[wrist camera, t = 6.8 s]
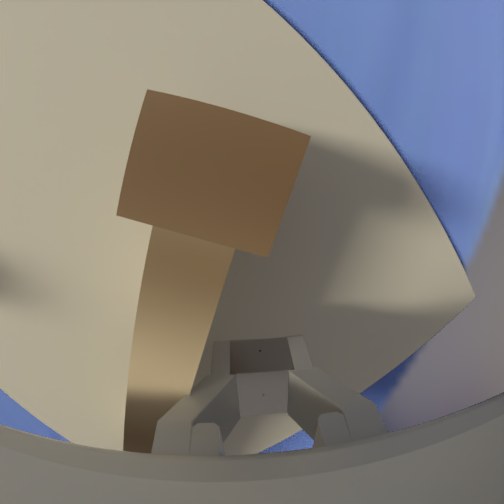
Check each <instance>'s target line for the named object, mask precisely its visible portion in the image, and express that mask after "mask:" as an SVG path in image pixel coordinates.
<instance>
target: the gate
mask: <svg viewBox="0 0 504 504" xmlns="http://www.w3.org/2000/svg"><path fill="white" fill-rule="evenodd" d="M310 138H311V136H309V135H307V134H304V133H301V132H298V131H295V130H293V129H290V128H287V127H284V126H281V125H278V124H275V123H272V122H269V121H266V120H263V119H260V118H257V117H253V116H250V115H247V114H244V113H240V112H237V111H234V110H230V109H227V108H223V107H219V106H216V105H212V104H208V103H205V102H201V101H197V100H193V99H189V98H185V97H180V96H176V95H172V94H167V93H163V92H158V91H153V90H149V89H147V91H146V94H145V98H144V101H143V104H142V108H141V111H140V115H139V118H138V122H137V125H136V129H135V133H134V136H133V140H132V144H131V148H130V152H129V156H128V161H127V165H126V169H125V174H124V178H123V183H122V188H121V193H120V198H119V203H118V208H117V213H116V216H120V217H124V218H127V219H131V220H134V221H138V222H141V223H145V224H149V225H152V226H153V227H152V231H151V236H150V241H149V245H148V250H147V255H146V261H145V266H144V271H143V277H142V282H141V288H140V294H139V300H138V306H137V312H136V319H135V326H134V333H133V341H132V348H131V356H130V365H129V374H128V384H127V395H126V407H125V421H124V439H123V451H129V452H139V453H151V451H152V446H153V441H154V436H155V431H156V426H157V421H158V420H159V419H160V418H161V417H162V416H164V415H165V414H166V413H167V412H168V411H169V410H170V409H171V408H172V407H173V406H174V405H175V404H177V403H178V402H179V401H180V400H181V399H182V398H183V397H184V396H190V392H191V389H192V386H193V383H194V379H195V376H196V373H197V369H198V366H199V363H200V360H201V356H202V353H203V350H204V347H205V343H206V340H207V337H208V334H209V331H210V327H211V324H212V321H213V318H214V315H215V311H216V308H217V305H218V302H219V299H220V295H221V292H222V289H223V286H224V283H225V280H226V277H227V273H228V270H229V267H230V264H231V261H232V258H233V255H234V252H235V249H238V250H242V251H245V252H249V253H253V254H256V255H260V256H263V257H267V258H268V256H269V253H270V250H271V248H272V245H273V242H274V239H275V236H276V234H277V231H278V228H279V225H280V223H281V220H282V217H283V214H284V211H285V209H286V206H287V203H288V200H289V197H290V195H291V192H292V189H293V186H294V183H295V181H296V178H297V175H298V172H299V169H300V166H301V163H302V161H303V158H304V155H305V152H306V149H307V146H308V143H309V141H310Z"/></svg>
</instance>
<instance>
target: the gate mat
mask: <svg viewBox="0 0 504 504" xmlns="http://www.w3.org/2000/svg"><path fill="white" fill-rule="evenodd" d="M147 89H149V90H153V91H158V92H163V93H167V94H172V95H176V96H180V97H185V98H189V99H193V100H197V101H201V102H205V103H208V104H212V105H216V106H219V107H223V108H227V109H230V110H234V111H237V112H240V113H244V114H247V115H250V116H253V117H257V118H260V119H263V120H266V121H269V122H272V123H275V124H278V125H281V126H284V127H287V128H290V129H293V130H295V131H298V132H301V133H304V134H307V135H309V136H311V138H310V141H309V143H308V146H307V149H306V152H305V155H304V158H303V161H302V163H301V166H300V169H299V172H298V175H297V178H296V181H295V183H294V186H293V189H292V192H291V195H290V197H289V200H288V203H287V206H286V209H285V211H284V214H283V217H282V220H281V223H280V225H279V228H278V231H277V234H276V236H275V239H274V242H273V245H272V248H271V250H270V253H269V256H268V258H267V257H263V256H260V255H256V254H253V253H249V252H245V251H242V250H238V249H235V252H234V255H233V258H232V261H231V264H230V267H229V270H228V273H227V277H226V280H225V283H224V286H223V289H222V292H221V295H220V299H219V302H218V305H217V308H216V311H215V315H214V318H213V321H212V324H211V327H210V331H209V334H208V337H207V340H206V343H205V347H204V350H203V353H202V356H201V360H200V363H199V366H198V369H197V373H196V376H195V379H194V383H193V386H192V388H194V387H195V386H196V385H197V384H198V383H199V382H200V381H201V380H202V379H203V378H204V377H205V376H210V375H211V364H212V351H213V343H214V341H221V340H230V341H231V340H244V339H267V338H279V337H286V336H293V335H301V334H302V335H303V336H304V339H305V342H306V345H307V349H308V352H309V355H310V358H311V361H312V364H313V368H316V367H319V368H320V369H322V370H323V371H325V372H326V373H328V374H329V375H331V376H332V377H334V378H335V379H337V380H339V381H340V382H342V383H343V384H345V385H346V386H348V387H349V388H351V389H353V390H354V391H356V392H357V393H359V394H360V393H361V392H363V391H364V390H365V389H367V388H368V387H370V386H371V385H373V384H374V383H375V382H377V381H378V380H379V379H381V378H382V377H384V376H385V375H386V374H388V373H389V372H390V371H392V370H393V369H394V368H395V367H397V366H398V365H399V364H401V363H402V362H403V361H404V360H406V359H407V358H408V357H410V356H411V355H412V354H413V353H414V352H416V351H417V350H418V349H419V348H421V347H422V346H423V345H424V344H425V343H426V342H428V341H429V340H430V339H431V338H432V337H433V336H435V335H436V334H437V333H438V332H439V331H440V330H441V329H443V328H444V327H445V326H446V325H447V324H448V323H449V322H450V321H451V320H452V319H454V318H455V316H457V315H458V314H459V313H460V312H461V311H462V310H463V309H464V308H465V307H466V306H467V305H468V304H469V303H470V302H471V301H472V300H473V299H474V298H475V297H476V295H475V293H474V291H473V288H472V286H471V284H470V281H469V279H468V277H467V275H466V272H465V270H464V268H463V266H462V264H461V262H460V260H459V258H458V256H457V254H456V252H455V250H454V248H453V246H452V244H451V242H450V240H449V238H448V236H447V234H446V232H445V230H444V228H443V226H442V225H441V223H440V221H439V219H438V217H437V216H436V214H435V212H434V210H433V209H432V207H431V205H430V203H429V202H428V200H427V198H426V197H425V195H424V193H423V192H422V190H421V188H420V187H419V185H418V183H417V182H416V180H415V179H414V177H413V175H412V174H411V172H410V171H409V169H408V168H407V166H406V165H405V163H404V162H403V160H402V159H401V157H400V156H399V154H398V153H397V151H396V150H395V148H394V147H393V145H392V144H391V143H390V141H389V140H388V138H387V137H386V136H385V134H384V133H383V131H382V130H381V129H380V127H379V126H378V125H377V123H376V122H375V121H374V119H373V118H372V117H371V115H370V114H369V113H368V111H367V110H366V109H365V108H364V106H363V105H362V104H361V103H360V101H359V100H358V99H357V98H356V96H355V95H354V94H353V93H352V92H351V90H350V89H349V88H348V87H347V86H346V84H345V83H344V82H343V81H342V80H341V78H340V77H339V76H338V75H337V74H336V73H335V72H334V70H333V69H332V68H331V67H330V66H329V65H328V64H327V63H326V62H325V60H324V59H323V58H322V57H321V56H320V55H319V54H318V53H317V52H316V51H315V50H314V49H313V48H312V47H311V46H310V45H309V44H308V43H307V41H306V40H305V39H304V38H303V37H302V36H301V35H300V34H299V33H298V32H297V31H296V30H294V29H293V28H292V27H291V26H290V25H289V24H288V23H287V22H286V21H285V20H284V19H283V18H282V17H281V16H280V15H279V14H278V13H277V12H275V11H274V10H273V9H272V8H271V7H270V6H269V5H268V4H266V3H265V2H264V1H263V0H0V388H1V389H2V390H3V391H4V392H5V393H6V394H7V395H9V396H10V397H11V398H12V399H13V400H15V401H16V402H17V403H18V404H20V405H21V406H22V407H23V408H25V409H26V410H27V411H28V412H30V413H31V414H32V415H34V416H35V417H36V418H38V419H39V420H40V421H42V422H43V423H44V424H46V425H47V426H49V427H50V428H51V429H53V430H54V431H56V432H57V433H59V434H60V435H62V436H63V437H65V438H66V439H68V440H69V441H71V442H72V443H75V444H80V445H86V446H92V447H98V448H105V449H112V450H120V451H123V439H124V421H125V407H126V395H127V384H128V374H129V365H130V356H131V348H132V341H133V333H134V326H135V319H136V312H137V306H138V300H139V294H140V288H141V282H142V277H143V271H144V266H145V261H146V255H147V250H148V245H149V241H150V236H151V231H152V227H153V226H152V225H149V224H145V223H141V222H138V221H134V220H131V219H127V218H124V217H120V216H116V213H117V208H118V203H119V198H120V193H121V188H122V183H123V178H124V174H125V169H126V165H127V161H128V156H129V152H130V148H131V144H132V140H133V136H134V133H135V129H136V125H137V122H138V118H139V115H140V111H141V108H142V104H143V101H144V98H145V94H146V91H147ZM301 430H302V428H301V427H300V426H299V425H298V424H297V423H296V422H295V421H294V420H293V419H292V418H291V417H290V416H289V415H288V413H279V414H263V415H253V416H241V417H240V420H239V421H238V423H237V424H236V425H235V427H234V428H233V430H232V431H231V433H230V434H229V436H228V437H227V439H226V440H225V441H224V443H223V447H224V451H225V455H247V454H257V453H259V452H261V451H263V450H265V449H267V448H269V447H271V446H273V445H275V444H277V443H279V442H281V441H282V440H284V439H286V438H288V437H290V436H292V435H293V434H295V433H297V432H299V431H301Z"/></svg>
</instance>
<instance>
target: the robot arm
mask: <svg viewBox="0 0 504 504" xmlns="http://www.w3.org/2000/svg"><path fill="white" fill-rule="evenodd" d="M279 413H288V415H289V416H290V417H291V418H292V419H293V420H294V421H295V422H296V423H297V424H298V425H299V426H300V427H301V428H302V429H303V430H304V431H305V432H306V433H307V434H308V435H309V436H310V437H311V438H312V439H313V440H314V444H313V448H309V449H301V450H293V451H284V452H274V453H262V454H247V455H225V451H224V447H223V443H224V441H225V440H226V439H227V437H228V436H229V434H230V433H231V431H232V430H233V428H234V427H235V425H236V424H237V423H238V421H239V420H240V417H241V416H253V415H263V414H279ZM0 504H504V392H503V393H501V394H499V395H496V396H494V397H492V398H490V399H487V400H485V401H483V402H480V403H478V404H475V405H473V406H470V407H468V408H465V409H463V410H460V411H457V412H455V413H452V414H449V415H446V416H443V417H440V418H438V419H435V420H432V421H428V422H425V423H422V424H419V425H415V426H412V427H409V428H405V429H401V430H398V431H394V432H390V433H388V431H387V429H386V427H385V424H384V422H383V420H382V418H381V415H380V413H379V411H378V409H377V406H376V404H375V403H373V402H372V401H370V400H369V399H367V398H365V397H364V396H362V395H361V394H359V393H357V392H356V391H354V390H353V389H351V388H349V387H348V386H346V385H345V384H343V383H342V382H340V381H339V380H337V379H335V378H334V377H332V376H331V375H329V374H328V373H326V372H325V371H323V370H322V369H320V368H319V367H316V368H313V364H312V361H311V358H310V355H309V352H308V349H307V345H306V342H305V339H304V336H303V335H302V334H301V335H293V336H286V337H279V338H267V339H244V340H231V341H230V340H221V341H214V343H213V351H212V364H211V375H210V376H205V377H204V378H203V379H202V380H201V381H200V382H199V383H198V384H197V385H196V386H195V387H194V388H192V389H191V392H190V396H184V397H183V398H182V399H181V400H180V401H179V402H178V403H177V404H175V405H174V406H173V407H172V408H171V409H170V410H169V411H168V412H167V413H166V414H165V415H164V416H162V417H161V418H160V419H159V420H158V421H157V426H156V431H155V436H154V441H153V446H152V451H151V453H139V452H129V451H120V450H112V449H105V448H98V447H92V446H86V445H80V444H75V443H70V442H65V441H60V440H56V439H51V438H47V437H43V436H39V435H35V434H31V433H27V432H24V431H20V430H17V429H13V428H10V427H7V426H4V425H0Z"/></svg>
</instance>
